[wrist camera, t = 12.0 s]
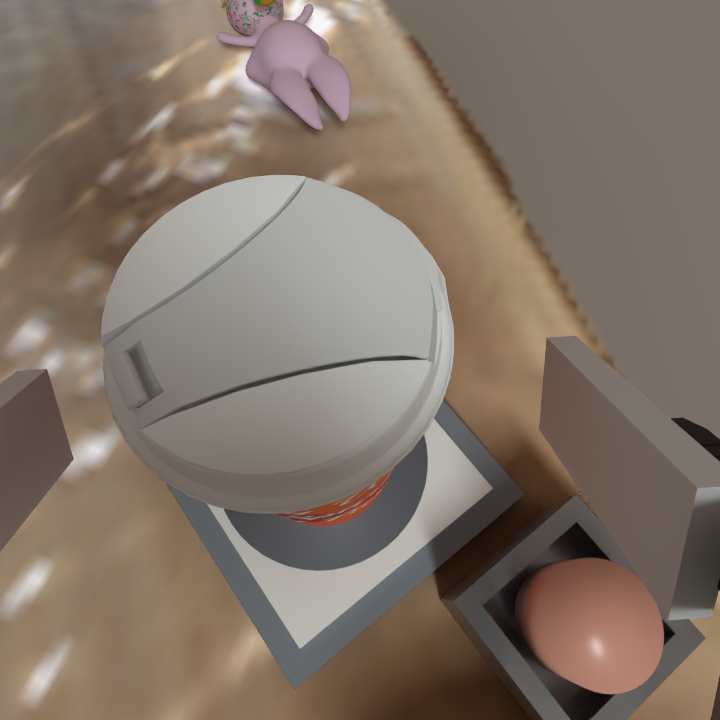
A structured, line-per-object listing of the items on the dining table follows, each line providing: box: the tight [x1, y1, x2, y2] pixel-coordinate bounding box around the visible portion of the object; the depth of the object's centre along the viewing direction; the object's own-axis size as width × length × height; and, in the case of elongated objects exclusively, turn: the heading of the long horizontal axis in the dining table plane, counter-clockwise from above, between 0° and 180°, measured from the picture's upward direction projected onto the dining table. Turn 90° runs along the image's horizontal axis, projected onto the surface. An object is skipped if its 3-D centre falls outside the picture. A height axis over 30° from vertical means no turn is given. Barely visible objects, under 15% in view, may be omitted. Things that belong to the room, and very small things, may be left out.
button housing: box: [440, 494, 705, 720], centre depth 21 cm, size 6×6×4 cm
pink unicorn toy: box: [217, 0, 351, 130], centre depth 32 cm, size 6×6×15 cm
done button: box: [515, 558, 664, 694], centre depth 18 cm, size 4×4×3 cm
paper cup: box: [100, 175, 454, 526], centre depth 17 cm, size 8×8×14 cm
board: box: [166, 400, 524, 689], centre depth 25 cm, size 13×12×1 cm
